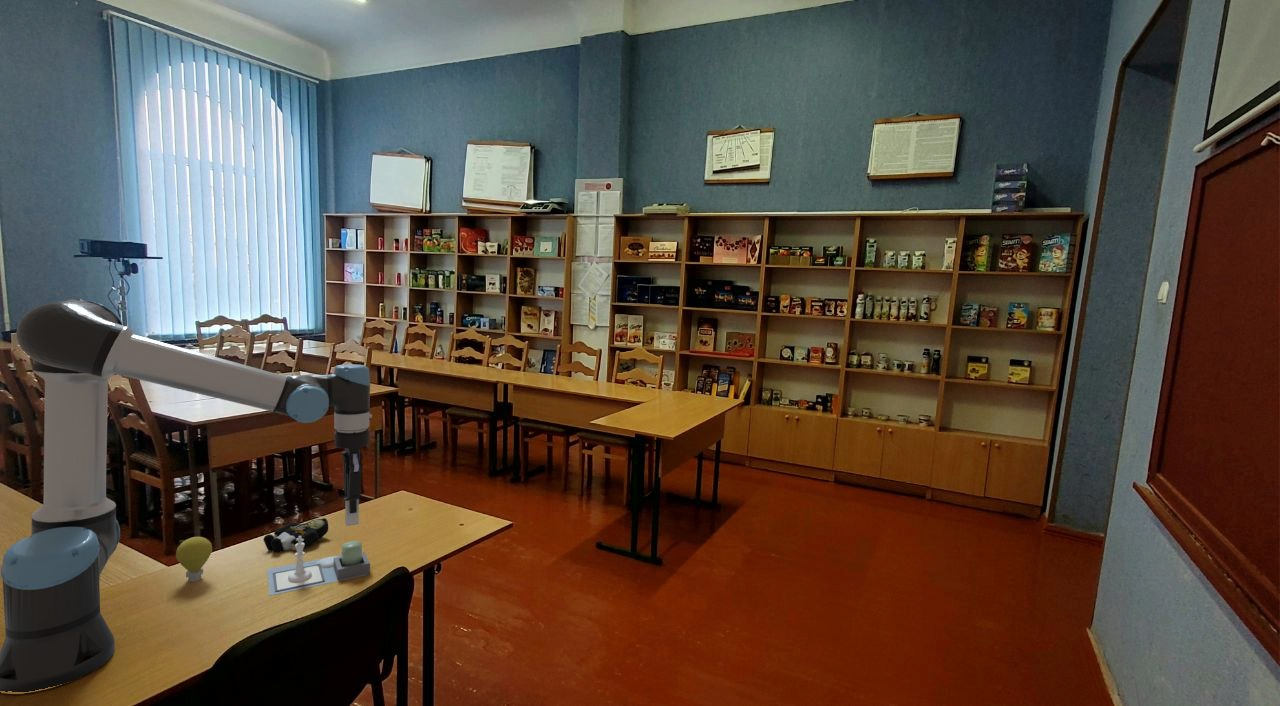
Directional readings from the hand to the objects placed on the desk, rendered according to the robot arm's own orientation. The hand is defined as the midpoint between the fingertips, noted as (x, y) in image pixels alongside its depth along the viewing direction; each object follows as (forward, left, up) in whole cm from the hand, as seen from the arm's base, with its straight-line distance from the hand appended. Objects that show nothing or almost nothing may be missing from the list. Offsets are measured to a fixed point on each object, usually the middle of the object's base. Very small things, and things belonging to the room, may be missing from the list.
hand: (352, 524), depth 137 cm
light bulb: (-31, +14, -13) cm, 36 cm away
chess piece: (-11, +2, -12) cm, 16 cm away
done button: (0, 0, -10) cm, 10 cm away
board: (-7, +3, -13) cm, 15 cm away
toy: (-10, +24, -13) cm, 29 cm away
